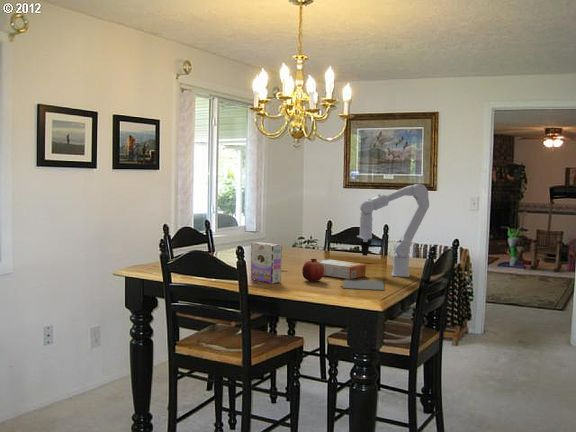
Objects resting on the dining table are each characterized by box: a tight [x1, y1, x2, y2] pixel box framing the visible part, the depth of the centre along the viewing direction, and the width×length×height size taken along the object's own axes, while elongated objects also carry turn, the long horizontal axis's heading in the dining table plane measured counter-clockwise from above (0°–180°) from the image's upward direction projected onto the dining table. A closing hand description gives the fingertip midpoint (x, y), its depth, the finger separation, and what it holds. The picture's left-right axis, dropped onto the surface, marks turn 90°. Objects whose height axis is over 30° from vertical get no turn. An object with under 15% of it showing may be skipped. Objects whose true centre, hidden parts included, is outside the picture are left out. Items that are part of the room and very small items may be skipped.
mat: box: [342, 278, 385, 292], centre depth 261 cm, size 20×17×1 cm
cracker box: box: [317, 259, 367, 280], centre depth 283 cm, size 14×6×21 cm
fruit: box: [301, 258, 325, 283], centre depth 266 cm, size 11×10×10 cm
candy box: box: [250, 241, 283, 285], centre depth 263 cm, size 14×6×16 cm, turn 44°
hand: (364, 255), depth 288 cm, fingers closed
